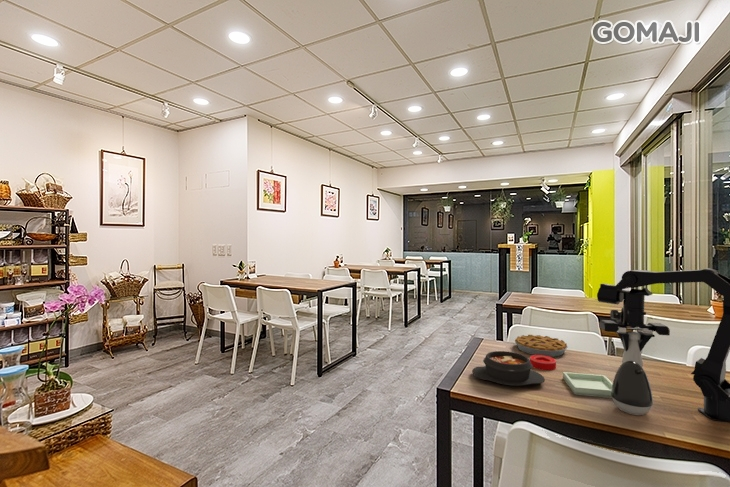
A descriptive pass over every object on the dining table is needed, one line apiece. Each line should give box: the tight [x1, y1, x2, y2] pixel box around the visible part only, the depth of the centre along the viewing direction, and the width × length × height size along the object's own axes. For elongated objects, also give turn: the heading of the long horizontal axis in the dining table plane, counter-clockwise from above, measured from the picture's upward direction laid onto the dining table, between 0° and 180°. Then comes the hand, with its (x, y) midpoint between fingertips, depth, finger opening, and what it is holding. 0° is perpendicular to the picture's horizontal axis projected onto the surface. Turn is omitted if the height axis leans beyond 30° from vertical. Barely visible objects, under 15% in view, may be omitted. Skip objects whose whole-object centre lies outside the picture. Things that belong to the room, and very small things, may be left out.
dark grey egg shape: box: [611, 361, 654, 416], centre depth 108 cm, size 10×10×15 cm
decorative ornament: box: [529, 354, 557, 371], centre depth 145 cm, size 10×10×3 cm
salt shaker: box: [621, 330, 644, 368], centre depth 122 cm, size 6×6×13 cm
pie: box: [514, 334, 569, 358], centre depth 165 cm, size 22×22×5 cm
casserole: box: [471, 350, 546, 387], centre depth 132 cm, size 25×19×8 cm
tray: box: [562, 371, 613, 399], centre depth 124 cm, size 14×14×2 cm
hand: (632, 352), depth 122 cm, fingers closed on salt shaker, 3 cm apart
